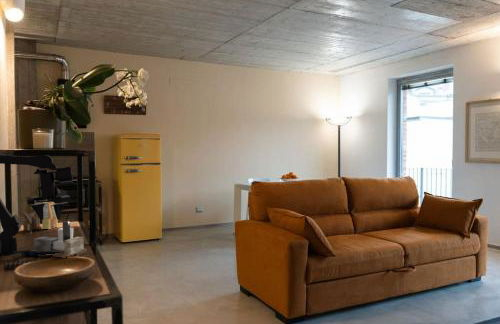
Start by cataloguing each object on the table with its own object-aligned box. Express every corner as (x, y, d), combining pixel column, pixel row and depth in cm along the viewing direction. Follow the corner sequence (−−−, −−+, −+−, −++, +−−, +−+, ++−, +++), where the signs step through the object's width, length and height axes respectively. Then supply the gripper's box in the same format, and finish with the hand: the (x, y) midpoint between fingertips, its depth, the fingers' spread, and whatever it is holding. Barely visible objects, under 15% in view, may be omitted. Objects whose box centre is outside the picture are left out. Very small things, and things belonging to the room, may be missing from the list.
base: (23, 255, 167) (23, 239, 167) (45, 249, 179) (44, 234, 179) (67, 258, 162) (67, 242, 162) (86, 251, 174) (86, 236, 174)
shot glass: (56, 245, 186) (56, 230, 186) (59, 242, 193) (58, 227, 193) (72, 244, 188) (72, 229, 188) (74, 241, 195) (74, 226, 194)
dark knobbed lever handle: (42, 248, 170) (41, 221, 170) (47, 246, 173) (46, 220, 173) (73, 250, 167) (72, 222, 166) (78, 248, 169) (77, 221, 169)
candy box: (51, 227, 234) (50, 200, 233) (58, 227, 233) (57, 200, 233) (42, 230, 225) (41, 202, 225) (49, 230, 224) (48, 202, 224)
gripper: (78, 181, 182) (81, 216, 182) (45, 183, 188) (48, 217, 188) (58, 183, 171) (62, 220, 172) (24, 185, 177) (27, 221, 178)
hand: (50, 219), depth 178 cm, fingers open, 9 cm apart
